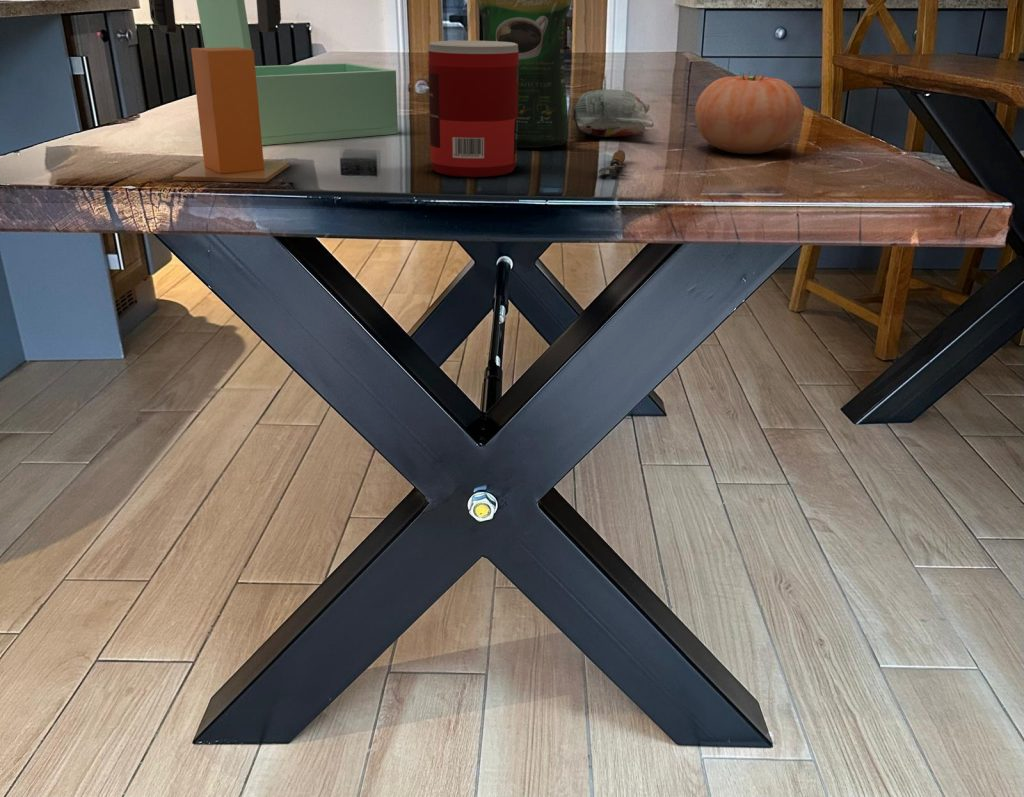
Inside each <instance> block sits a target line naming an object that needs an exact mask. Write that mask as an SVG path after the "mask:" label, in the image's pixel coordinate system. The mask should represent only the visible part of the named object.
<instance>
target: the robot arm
mask: <svg viewBox="0 0 1024 797" xmlns="http://www.w3.org/2000/svg"><path fill="white" fill-rule="evenodd" d="M148 5H149V14H150V15H149V16H150V20H151V21H152V24H153V26H158V29H159V32H160V33H163V34H176V32H177V25H176V16H175V7H174V6H175V4H174V0H148ZM281 11H282V10H281V0H256V14H257V27H258V31H259V32H260V33H266V34H271V33H272V34H274V33H276V31H277V26H280V24H281V21H282V12H281Z"/></svg>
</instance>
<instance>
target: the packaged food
mask: <svg viewBox="0 0 1024 797" xmlns="http://www.w3.org/2000/svg"><path fill="white" fill-rule="evenodd" d="M650 106H651V105H650V104H649V103H644V101H643V100H641V99H640V97H638V96H637V95H636V94H634V93H633V92H630V91H627V90H622V89H608V88H607V89H596V90H590V91H585V92H584V93H583V94H581V95H580V96H579V98H578V100H577V104H576V105H575V106H574V108H573V110H572V116H573V119H574V123H575V126H576V128H577V129H578V130H579V131H580V132H583V133H584V134H587V135H589V136H593V137H595V138H596V137H597V138H613V137H614V138H615V137H616V138H617V137H628V136H636V135H639V134H641V133H642V132H643V131H644V130H645V129H646V128H651V129H652V128H653V127H654V122H653V118H652V116H651V115H650V114H648V112H649V111H650Z"/></svg>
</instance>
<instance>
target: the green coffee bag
mask: <svg viewBox="0 0 1024 797" xmlns="http://www.w3.org/2000/svg"><path fill="white" fill-rule="evenodd" d="M476 3H477V7H478V10H479V13H480V17H481V20H482V30H483V31H482V38H483V39H482V41H499V42H512V43H516V44H518V51H519V74H518V122H517V149H538V148H550V147H554V146H556V145H557V146H559V147H560V146H562V145H563V144H565V143H566V141H567V139H568V136H569V112H568V99H567V98H568V97H567V86H566V71H565V70H566V69H565V23H566V18H567V15H568V13H569V10H570V8H571V6H572V5H571V4H572V0H476Z"/></svg>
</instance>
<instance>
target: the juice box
mask: <svg viewBox="0 0 1024 797" xmlns="http://www.w3.org/2000/svg"><path fill="white" fill-rule="evenodd" d="M190 52H191V59H192V60H191V61H192V70H193V77H194V88H195V95H196V104H197V113H198V122H199V130H200V138H201V147H202V148H201V150H202V157H203V160H204V166H205V167H206V168H209V169H211V170H213V171H215V172H218V173H220V174H225V173H235V172H245V171H255V170H264V161H265V160H264V151H263V145H262V138H261V127H260V116H259V105H258V93H257V82H256V71H255V66H256V62H255V61H256V60H255V50H254V49H252V50H251V49H245V48H239V47H218V48H205V47H192V48H191V49H190Z"/></svg>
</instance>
